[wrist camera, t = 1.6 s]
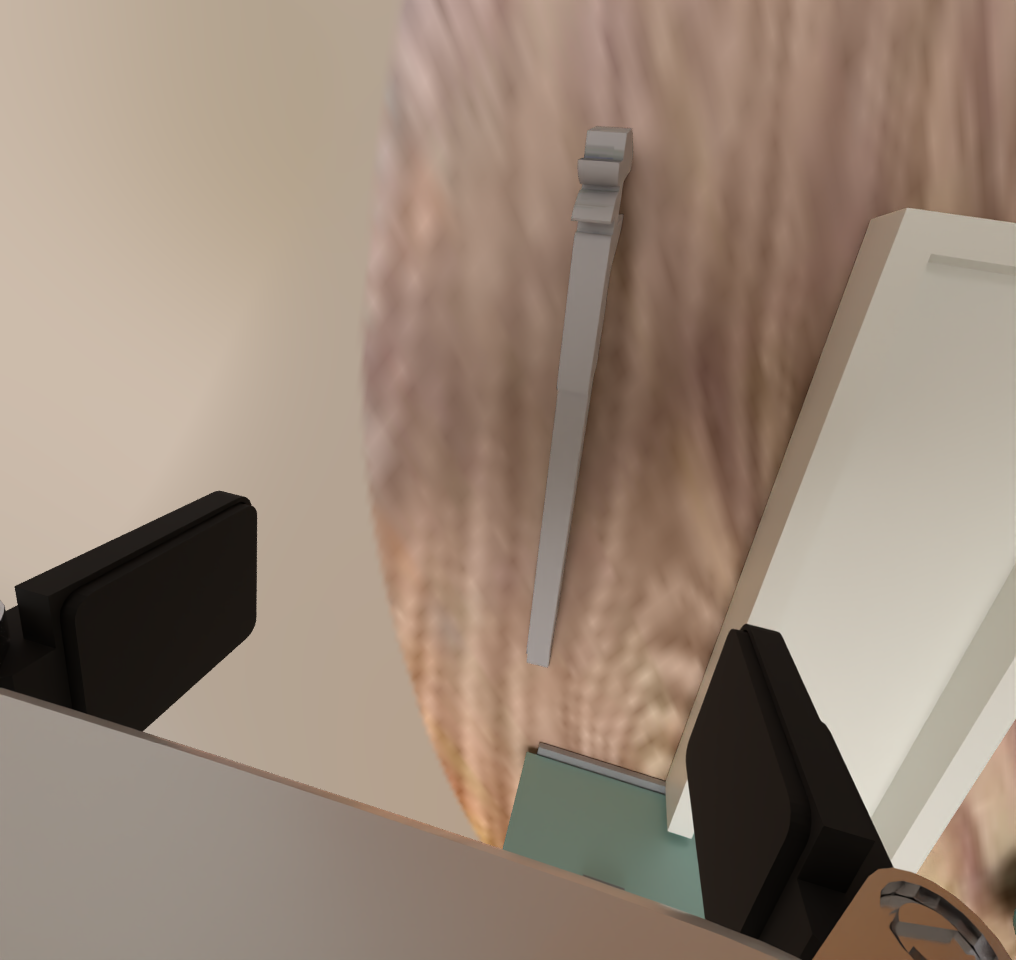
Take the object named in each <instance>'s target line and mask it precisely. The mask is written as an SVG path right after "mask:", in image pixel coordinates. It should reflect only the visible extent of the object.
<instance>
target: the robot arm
mask: <svg viewBox="0 0 1016 960" xmlns="http://www.w3.org/2000/svg"><path fill="white" fill-rule="evenodd" d="M256 588H257V511H256V509H255V508H254V507H253V506H251V503H250V500H249V499H248V498H246V497H242V496H239V495H235V494H231V493H227V492H223V491H216V492H213V493H211V494H209V495H207V496H205V497H202V498H200V499H199V500H196V501H194V502H192V503H190V504H188V505H185V506H183V507H181V508H179V509H177V510H175V511H173V512H171V513H169V514H166V515H164V516H162V517H160V518H158V519H156V520H154V521H152V522H150V523H147V524H145V525H143V526H141V527H139V528H137V529H135V530H133V531H131V532H128V533H126V534H124V535H122V536H120V537H118V538H116V539H114V540H111V541H109V542H107V543H105V544H103V545H101V546H99V547H97V548H95V549H92V550H90V551H88V552H86V553H84V554H82V555H80V556H78V557H76V558H73V559H71V560H69V561H67V562H65V563H63V564H61V565H59V566H57V567H55V568H52V569H50V570H48V571H46V572H44V573H42V574H40V575H38V576H35V577H33V578H31V579H29V580H27V581H25V582H23V583H21V584H19V585H16V586H15V591H16V597H17V603H18V605H17V606H15V607H13V608H11V609H9V610H7V611H5V606H4V604H3V603H2V602H1V600H0V960H1011V958H1010V956H1009V955H1008V953H1007V952H1006V950H1005V949H1004V947H1003V946H1002V944H1001V943H1000V941H999V939H998V938H997V937H996V936H995V935H994V934H993V932H992V931H991V930H990V929H989V928H988V927H987V926H986V925H985V923H984V922H983V921H982V920H981V919H980V918H979V917H978V916H977V915H976V914H975V913H974V912H973V911H971V910H970V909H969V908H968V907H967V906H966V905H965V904H963V903H962V902H961V901H960V900H959V899H958V898H957V897H955V896H954V895H952V894H951V893H949V892H948V891H946V890H945V889H943V888H942V887H940V886H939V885H937V884H936V883H934V882H932V881H930V880H928V879H926V878H924V877H922V876H919V875H917V874H915V873H913V872H910V871H905V870H901V869H897V868H894V867H893V865H892V863H891V861H890V858H889V856H888V854H887V852H886V850H885V848H884V846H883V843H882V841H881V839H880V837H879V835H878V833H877V831H876V828H875V826H874V824H873V822H872V820H871V818H870V816H869V813H868V811H867V809H866V807H865V805H864V803H863V801H862V798H861V796H860V794H859V792H858V790H857V788H856V786H855V783H854V781H853V779H852V777H851V775H850V773H849V770H848V768H847V766H846V764H845V762H844V760H843V758H842V755H841V753H840V751H839V749H838V747H837V745H836V743H835V740H834V738H833V736H832V734H831V732H830V730H829V729H828V727H827V726H826V724H825V723H823V722H822V721H821V720H820V718H819V716H818V714H817V711H816V709H815V707H814V705H813V703H812V700H811V698H810V696H809V694H808V692H807V689H806V687H805V685H804V683H803V681H802V678H801V676H800V674H799V672H798V670H797V667H796V665H795V663H794V661H793V659H792V656H791V654H790V652H789V650H788V648H787V645H786V643H785V641H784V639H783V637H782V635H781V633H780V632H777V631H774V630H770V629H766V628H762V627H758V626H754V625H750V624H744V625H743V626H742V627H741V629H740V630H737V629H731V630H730V631H729V633H728V635H727V638H726V640H725V643H724V646H723V649H722V651H721V654H720V657H719V660H718V662H717V665H716V668H715V670H714V673H713V676H712V679H711V681H710V684H709V687H708V689H707V692H706V695H705V698H704V700H703V703H702V706H701V709H700V711H699V714H698V717H697V719H696V722H695V725H694V728H693V730H692V733H691V736H690V739H689V741H688V745H687V750H686V771H687V779H688V787H689V795H690V803H691V811H692V819H693V827H694V835H695V843H696V851H697V859H698V867H699V875H700V883H701V891H702V899H703V908H704V916H705V919H703V918H700V917H698V916H695V915H692V914H689V913H687V912H684V911H681V910H678V909H675V908H673V907H670V906H667V905H664V904H662V903H659V902H656V901H653V900H650V899H647V898H644V897H641V896H638V895H635V894H633V893H630V892H627V891H624V890H621V889H618V888H615V887H612V886H610V885H607V884H604V883H601V882H598V881H595V880H592V879H590V878H587V877H584V876H581V875H578V874H575V873H572V872H569V871H566V870H563V869H560V868H557V867H554V866H551V865H548V864H545V863H542V862H539V861H536V860H533V859H530V858H527V857H524V856H521V855H518V854H515V853H512V852H509V851H506V850H503V849H500V848H497V847H494V846H491V845H488V844H485V843H482V842H479V841H476V840H473V839H470V838H467V837H464V836H461V835H458V834H455V833H452V832H449V831H446V830H443V829H440V828H437V827H434V826H431V825H428V824H425V823H422V822H419V821H416V820H413V819H410V818H407V817H404V816H401V815H398V814H394V813H392V812H388V811H385V810H382V809H379V808H376V807H373V806H370V805H367V804H364V803H361V802H358V801H355V800H352V799H349V798H346V797H342V796H340V795H337V794H333V793H330V792H327V791H324V790H321V789H318V788H315V787H312V786H309V785H306V784H303V783H299V782H297V781H294V780H291V779H288V778H285V777H281V776H278V775H275V774H272V773H269V772H266V771H263V770H260V769H256V768H254V767H251V766H248V765H244V764H241V763H238V762H235V761H232V760H229V759H226V758H223V757H220V756H217V755H214V754H211V753H207V752H204V751H201V750H198V749H195V748H192V747H188V746H185V745H182V744H179V743H176V742H173V741H170V740H167V739H164V738H160V737H157V736H154V735H151V734H148V733H145V732H143V731H144V730H145V729H146V728H147V727H148V726H149V725H150V724H151V723H153V722H154V721H155V720H156V719H157V718H158V717H159V716H160V715H161V714H163V713H164V712H165V711H166V710H167V709H168V708H169V707H170V706H171V705H172V704H174V703H175V702H176V701H177V700H178V699H179V698H180V697H182V696H183V695H184V694H185V693H186V692H187V691H188V690H189V689H190V688H192V686H194V685H195V684H196V683H197V682H198V681H199V680H200V679H201V678H203V677H204V676H205V675H206V674H207V673H208V672H209V671H211V670H212V668H214V667H215V666H216V665H217V664H218V663H219V662H221V661H222V660H223V659H224V658H225V657H226V656H227V655H228V654H229V653H231V652H232V651H233V650H234V649H235V648H236V647H237V646H238V645H240V644H241V643H242V642H243V641H244V640H245V639H246V638H247V637H248V636H249V635H250V634H251V632H252V630H253V628H254V626H255V623H256V592H257V589H256Z"/></svg>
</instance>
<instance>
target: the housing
mask: <svg viewBox="0 0 1016 960" xmlns="http://www.w3.org/2000/svg"><path fill="white" fill-rule="evenodd" d="M744 624H750V625H754V626H758V627H762V628H766V629H770V630H774V631H777V632H780V633H781V635H782V637H783V639H784V641H785V643H786V645H787V648H788V650H789V652H790V654H791V656H792V659H793V661H794V663H795V665H796V667H797V670H798V672H799V674H800V676H801V678H802V681H803V683H804V685H805V687H806V689H807V692H808V694H809V696H810V698H811V700H812V703H813V705H814V707H815V709H816V711H817V714H818V716H819V718H820V720H821V721H822V722H823V723H825V724H826V726H827V727H828V729H829V730H830V732H831V734H832V736H833V738H834V740H835V743H836V745H837V747H838V749H839V751H840V753H841V755H842V758H843V760H844V762H845V764H846V766H847V768H848V770H849V773H850V775H851V777H852V779H853V781H854V783H855V786H856V788H857V790H858V792H859V794H860V796H861V798H862V801H863V803H864V805H865V807H866V809H867V811H868V813H869V816H870V818H871V820H872V822H873V824H874V826H875V828H876V831H877V833H878V835H879V837H880V839H881V841H882V843H883V846H884V848H885V850H886V852H887V854H888V856H889V858H890V861H891V863H892V865H893V867H894V868H897V869H901V870H905V871H910V872H913V873H915V874H916V873H917V871H918V870H919V868H920V867H921V865H922V864H923V862H924V861H925V859H926V857H927V856H928V854H929V853H930V851H931V850H932V848H933V847H934V845H935V843H936V842H937V840H938V839H939V837H940V836H941V834H942V833H943V831H944V829H945V828H946V826H947V825H948V823H949V822H950V820H951V819H952V817H953V815H954V814H955V812H956V811H957V809H958V808H959V806H960V805H961V803H962V801H963V800H964V798H965V797H966V795H967V794H968V792H969V791H970V789H971V787H972V786H973V784H974V783H975V781H976V780H977V778H978V777H979V775H980V773H981V772H982V770H983V769H984V767H985V766H986V764H987V763H988V761H989V759H990V758H991V756H992V755H993V753H994V752H995V750H996V749H997V747H998V745H999V744H1000V742H1001V741H1002V739H1003V738H1004V736H1005V735H1006V733H1007V731H1008V730H1009V728H1010V727H1011V725H1012V724H1013V722H1014V721H1015V719H1016V223H1012V222H1005V221H998V220H991V219H984V218H977V217H970V216H963V215H956V214H949V213H942V212H935V211H928V210H921V209H914V208H904V209H901V210H898V211H895V212H892V213H888V214H885V215H882V216H879V217H876V218H873V219H871V220H870V223H869V225H868V228H867V231H866V234H865V236H864V239H863V242H862V245H861V247H860V250H859V253H858V255H857V258H856V261H855V264H854V266H853V269H852V272H851V275H850V277H849V280H848V283H847V286H846V288H845V291H844V294H843V297H842V299H841V302H840V305H839V307H838V310H837V313H836V316H835V318H834V321H833V324H832V327H831V329H830V332H829V335H828V338H827V340H826V343H825V346H824V349H823V351H822V354H821V357H820V360H819V362H818V365H817V368H816V370H815V373H814V376H813V379H812V381H811V384H810V387H809V390H808V392H807V395H806V398H805V401H804V403H803V406H802V409H801V412H800V414H799V417H798V420H797V422H796V425H795V428H794V431H793V433H792V436H791V439H790V442H789V444H788V447H787V450H786V453H785V455H784V458H783V461H782V464H781V466H780V469H779V472H778V474H777V477H776V480H775V483H774V485H773V488H772V491H771V494H770V496H769V499H768V502H767V505H766V507H765V510H764V513H763V516H762V518H761V521H760V524H759V526H758V529H757V532H756V535H755V537H754V540H753V543H752V546H751V548H750V551H749V554H748V557H747V559H746V562H745V565H744V568H743V570H742V573H741V576H740V579H739V581H738V584H737V587H736V589H735V592H734V595H733V598H732V600H731V603H730V606H729V609H728V611H727V614H726V617H725V620H724V622H723V625H722V628H721V631H720V633H719V636H718V639H717V641H716V644H715V647H714V650H713V652H712V655H711V658H710V661H709V663H708V666H707V669H706V672H705V674H704V677H703V680H702V683H701V685H700V688H699V691H698V693H697V696H696V699H695V702H694V704H693V707H692V710H691V713H690V715H689V718H688V721H687V724H686V726H685V729H684V732H683V735H682V737H681V740H680V743H679V745H678V748H677V751H676V754H675V756H674V759H673V762H672V765H671V767H670V770H669V773H668V776H667V778H666V781H662V780H659V779H656V778H653V777H649V776H646V775H643V774H640V773H637V772H633V771H630V770H627V769H624V768H621V767H617V766H614V765H611V764H608V763H605V762H601V761H598V760H595V759H592V758H589V757H585V756H582V755H579V754H576V753H573V752H569V751H566V750H563V749H560V748H557V747H553V746H550V745H547V744H544V743H541V742H540V744H539V748H538V752H537V755H539V756H542V757H545V758H548V759H551V760H555V761H558V762H561V763H564V764H567V765H570V766H574V767H577V768H580V769H583V770H586V771H589V772H592V773H596V774H599V775H602V776H605V777H608V778H611V779H615V780H618V781H621V782H624V783H627V784H630V785H634V786H637V787H640V788H643V789H646V790H649V791H653V792H656V793H659V794H662V795H665V796H666V811H667V831H669V832H672V833H675V834H678V835H681V836H684V837H687V838H690V839H692V836H693V834H694V827H693V819H692V811H691V803H690V795H689V787H688V779H687V771H686V750H687V745H688V741H689V739H690V736H691V733H692V730H693V728H694V725H695V722H696V719H697V717H698V714H699V711H700V709H701V706H702V703H703V700H704V698H705V695H706V692H707V689H708V687H709V684H710V681H711V679H712V676H713V673H714V670H715V668H716V665H717V662H718V660H719V657H720V654H721V651H722V649H723V646H724V643H725V640H726V638H727V635H728V633H729V631H730V630H731V629H737V630H740V629H741V627H742V626H743V625H744Z"/></svg>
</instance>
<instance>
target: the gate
mask: <svg viewBox="0 0 1016 960" xmlns="http://www.w3.org/2000/svg"><path fill="white" fill-rule="evenodd" d="M503 850H506V851H509V852H512V853H515V854H518V855H521V856H524V857H527V858H530V859H533V860H536V861H539V862H542V863H545V864H548V865H551V866H554V867H557V868H560V869H563V870H566V871H569V872H572V873H575V874H578V875H581V876H584V877H587V878H590V879H592V880H595V881H598V882H601V883H604V884H607V885H610V886H612V887H615V888H618V889H621V890H624V891H627V892H630V893H633V894H635V895H638V896H641V897H644V898H647V899H650V900H653V901H656V902H659V903H662V904H664V905H667V906H670V907H673V908H675V909H678V910H681V911H684V912H687V913H689V914H692V915H695V916H698V917H700V918H703V919H705V916H704V908H703V899H702V891H701V883H700V875H699V867H698V859H697V851H696V843H695V835H694V834H693V836H692V839H690V838H687V837H684V836H681V835H678V834H675V833H672V832H669V831H667V811H666V796H665V795H662V794H659V793H656V792H653V791H649V790H646V789H643V788H640V787H637V786H634V785H630V784H627V783H624V782H621V781H618V780H615V779H611V778H608V777H605V776H602V775H599V774H596V773H592V772H589V771H586V770H583V769H580V768H577V767H574V766H570V765H567V764H564V763H561V762H558V761H555V760H551V759H548V758H545V757H542V756H539V755H536V754H532V753H529V752H527V753H526V757H525V761H524V765H523V769H522V773H521V777H520V781H519V785H518V789H517V793H516V797H515V801H514V805H513V810H512V814H511V818H510V822H509V826H508V830H507V834H506V838H505V842H504V846H503Z"/></svg>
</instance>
